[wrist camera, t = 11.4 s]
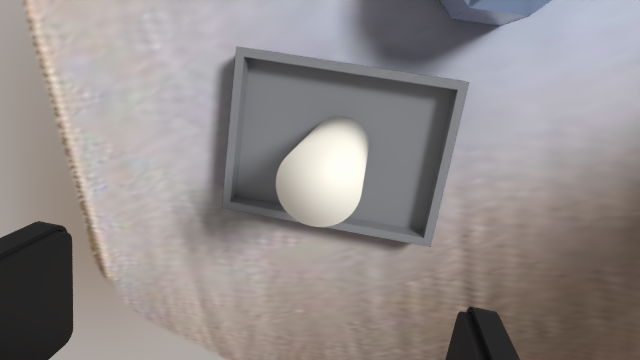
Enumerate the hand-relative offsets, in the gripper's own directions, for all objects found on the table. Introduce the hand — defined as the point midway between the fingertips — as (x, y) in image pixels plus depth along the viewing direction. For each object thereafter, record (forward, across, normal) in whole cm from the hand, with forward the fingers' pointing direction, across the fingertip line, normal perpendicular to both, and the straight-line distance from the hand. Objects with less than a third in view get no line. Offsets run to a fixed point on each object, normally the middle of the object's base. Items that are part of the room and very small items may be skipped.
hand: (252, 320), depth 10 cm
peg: (+23, 0, 0) cm, 23 cm away
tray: (+24, 0, 0) cm, 24 cm away
